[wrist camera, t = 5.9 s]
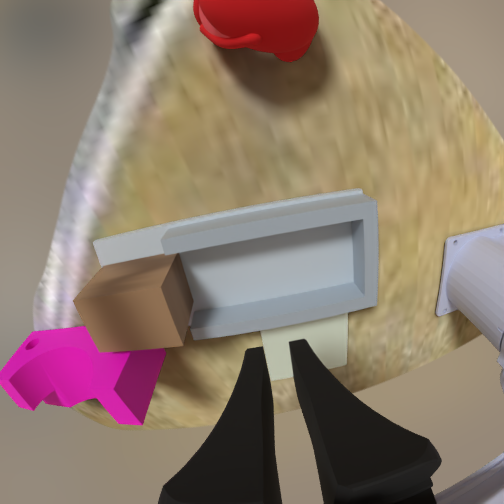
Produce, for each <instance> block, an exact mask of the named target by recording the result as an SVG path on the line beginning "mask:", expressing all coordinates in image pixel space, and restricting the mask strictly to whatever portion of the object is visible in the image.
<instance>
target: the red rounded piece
mask: <svg viewBox="0 0 504 504" xmlns="http://www.w3.org/2000/svg"><path fill="white" fill-rule="evenodd" d="M193 10H194V15H195V18H196V20H197V22H198V23H199V25H200V31H201V32H202V34H204V35H205V36H206V37H207V38H208V39H209V40H210V41H211V42H213V43H214V44H215V45H217V46H219V47H222V48H226V49H237V48H244V47H247V48H250V49H253V50H257V51H261V52H269V53H274V54H275V55H276V57H278V58H279V59H280V60H282V61H285V62H293V61H296V60H298V59H299V58H301V57H302V56H303V55H304V54H305V52H306V51H307V50H308V48H309V46H310V44H311V42H312V39H313V37H314V36H315V34H316V32H317V29H318V24H319V15H318V10H317V7H316V4H315V2H314V0H194V4H193Z"/></svg>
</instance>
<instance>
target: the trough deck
mask: <svg viewBox="0 0 504 504" xmlns="http://www.w3.org/2000/svg"><path fill="white" fill-rule="evenodd" d="M93 245H94V248H95V250H96V253H97V256H98V259H99V261H100V264H101V267H103V266H105V265H110V264H114V263H119V262H124V261H129V260H134V259H139V258H144V257H149V256H154V255H159V254H165V255H170V254H175V253H179V255H180V258H181V261H182V265H183V268H184V271H185V275H186V278H187V281H188V284H189V288H190V291H191V294H192V297H193V300H194V302H193V307H192V311H191V315H190V319H189V323H188V326H191V327H190V331H191V333H192V336H193V339H194V340H202V339H209V338H216V337H223V336H230V335H237V334H243V333H249V332H255V331H261V330H266V329H272V328H277V327H283V326H288V325H293V324H298V323H303V322H308V321H313V320H317V319H322V318H326V317H331V316H335V315H340V314H344V313H348V312H352V311H356V310H360V309H364V308H368V307H372V306H376V305H377V292H378V211H377V200H375V199H373V198H371V197H369V196H367V195H365V194H363V191H362V189H360V188H357V189H350V190H343V191H336V192H330V193H323V194H317V195H310V196H304V197H298V198H292V199H286V200H280V201H275V202H269V203H263V204H258V205H252V206H247V207H242V208H237V209H231V210H226V211H221V212H216V213H211V214H206V215H201V216H197V217H192V218H187V219H183V220H178V221H173V222H169V223H164V224H160V225H155V226H151V227H147V228H142V229H138V230H134V231H130V232H126V233H122V234H117V235H113V236H109V237H105V238H101V239H98V240H95V241H94V242H93Z"/></svg>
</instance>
